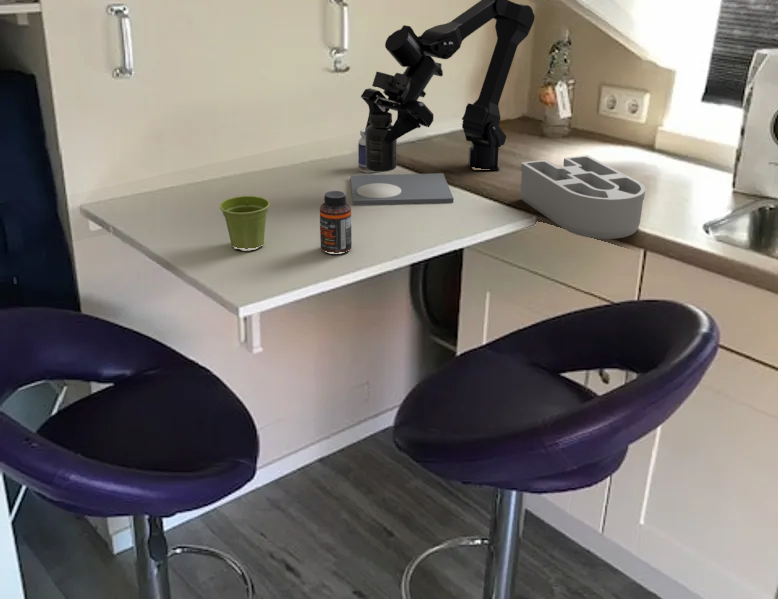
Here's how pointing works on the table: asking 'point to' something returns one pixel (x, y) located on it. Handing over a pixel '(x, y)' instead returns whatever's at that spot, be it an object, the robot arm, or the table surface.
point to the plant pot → (245, 220)
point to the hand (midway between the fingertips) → (376, 139)
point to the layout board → (400, 189)
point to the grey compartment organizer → (584, 196)
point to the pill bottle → (362, 153)
